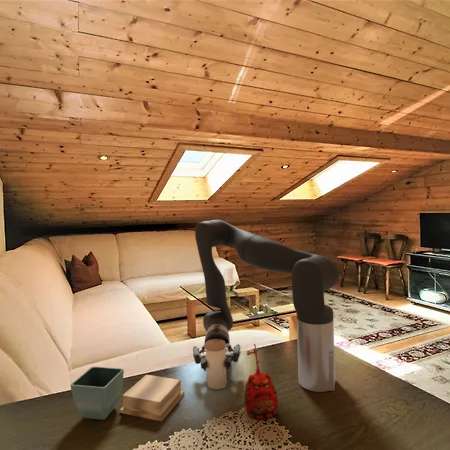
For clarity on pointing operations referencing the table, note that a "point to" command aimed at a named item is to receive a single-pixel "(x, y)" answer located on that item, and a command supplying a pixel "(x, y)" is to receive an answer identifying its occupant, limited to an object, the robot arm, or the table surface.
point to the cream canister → (216, 363)
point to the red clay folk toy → (260, 394)
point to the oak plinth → (152, 397)
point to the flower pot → (97, 391)
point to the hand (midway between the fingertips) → (215, 366)
